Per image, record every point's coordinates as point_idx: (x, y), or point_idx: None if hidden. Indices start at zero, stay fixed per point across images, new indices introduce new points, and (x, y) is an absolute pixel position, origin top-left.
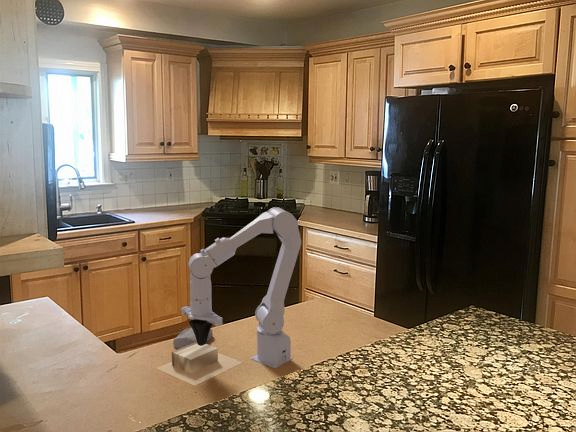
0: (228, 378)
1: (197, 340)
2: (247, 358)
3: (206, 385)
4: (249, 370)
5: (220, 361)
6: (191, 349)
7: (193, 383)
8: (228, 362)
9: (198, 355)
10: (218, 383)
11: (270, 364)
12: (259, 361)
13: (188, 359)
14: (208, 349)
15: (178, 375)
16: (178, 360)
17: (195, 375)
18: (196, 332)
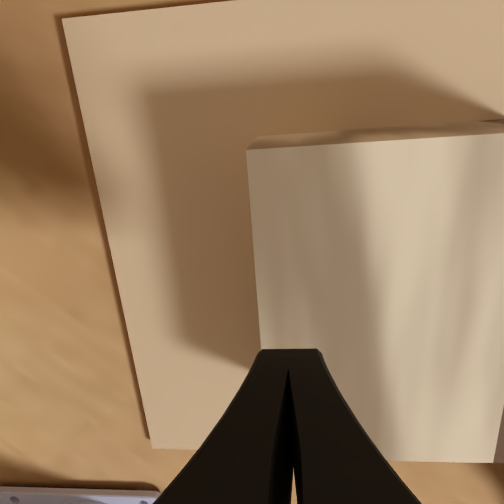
0: (47, 275)
1: (304, 379)
2: None
3: (45, 109)
4: (62, 409)
5: None
6: (441, 312)
7: (101, 37)
8: (210, 404)
9: (271, 269)
10: (23, 188)
11: (26, 501)
12: (91, 496)
13: (284, 146)
14: None
15: (308, 33)
16: (443, 131)
17: (207, 140)
18: (305, 492)
